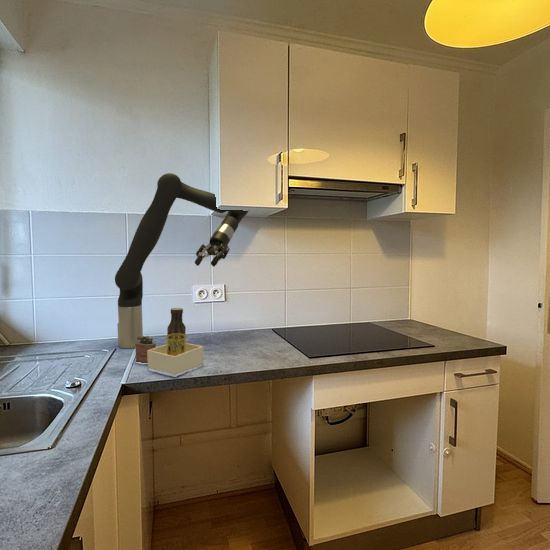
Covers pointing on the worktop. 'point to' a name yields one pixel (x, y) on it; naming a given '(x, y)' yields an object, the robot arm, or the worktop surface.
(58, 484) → the worktop surface
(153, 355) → the crate
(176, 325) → the sauce bottle
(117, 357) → the worktop surface
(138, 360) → the potted plant
